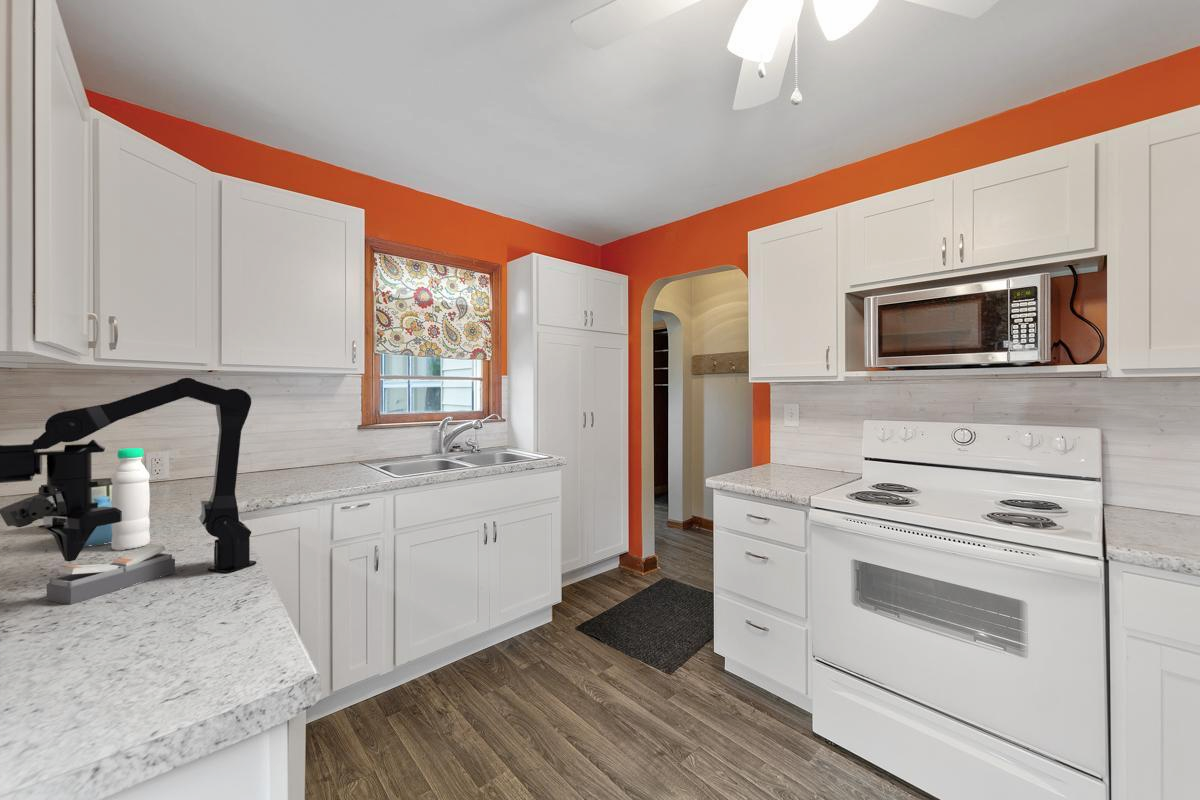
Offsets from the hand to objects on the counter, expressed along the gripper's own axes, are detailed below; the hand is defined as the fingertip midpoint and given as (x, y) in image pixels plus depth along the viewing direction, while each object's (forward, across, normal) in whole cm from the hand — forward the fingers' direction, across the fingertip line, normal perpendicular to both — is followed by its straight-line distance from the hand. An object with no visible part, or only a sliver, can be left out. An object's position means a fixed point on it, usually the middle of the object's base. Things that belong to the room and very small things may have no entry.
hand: (70, 560), depth 92 cm
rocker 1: (+2, 0, +3) cm, 4 cm away
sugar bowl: (+8, -43, +27) cm, 52 cm away
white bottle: (+7, -28, +25) cm, 38 cm away
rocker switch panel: (+7, 0, +7) cm, 10 cm away
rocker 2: (+2, 0, +11) cm, 11 cm away
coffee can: (+7, -58, +33) cm, 67 cm away
